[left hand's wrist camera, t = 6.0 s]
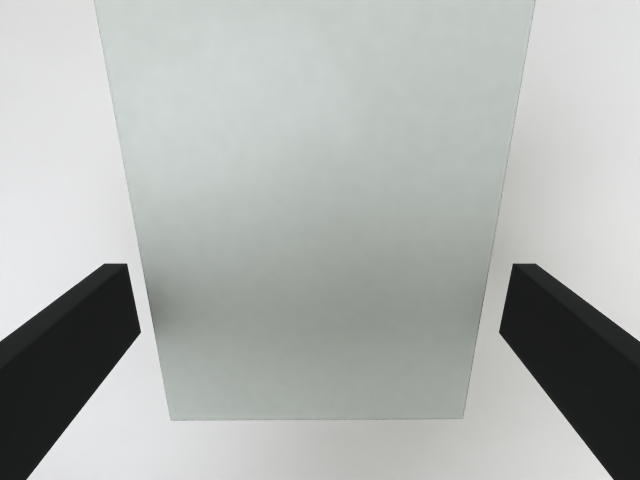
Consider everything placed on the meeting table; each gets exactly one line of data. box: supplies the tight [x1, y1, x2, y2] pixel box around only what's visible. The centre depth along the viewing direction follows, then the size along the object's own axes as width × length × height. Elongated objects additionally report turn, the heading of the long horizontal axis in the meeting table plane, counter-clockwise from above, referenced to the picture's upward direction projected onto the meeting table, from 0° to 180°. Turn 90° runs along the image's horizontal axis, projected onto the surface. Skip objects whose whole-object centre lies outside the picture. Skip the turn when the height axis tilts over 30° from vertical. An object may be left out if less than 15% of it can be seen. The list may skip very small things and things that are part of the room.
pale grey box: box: [94, 0, 535, 421], centre depth 14 cm, size 20×11×8 cm, turn 0°
